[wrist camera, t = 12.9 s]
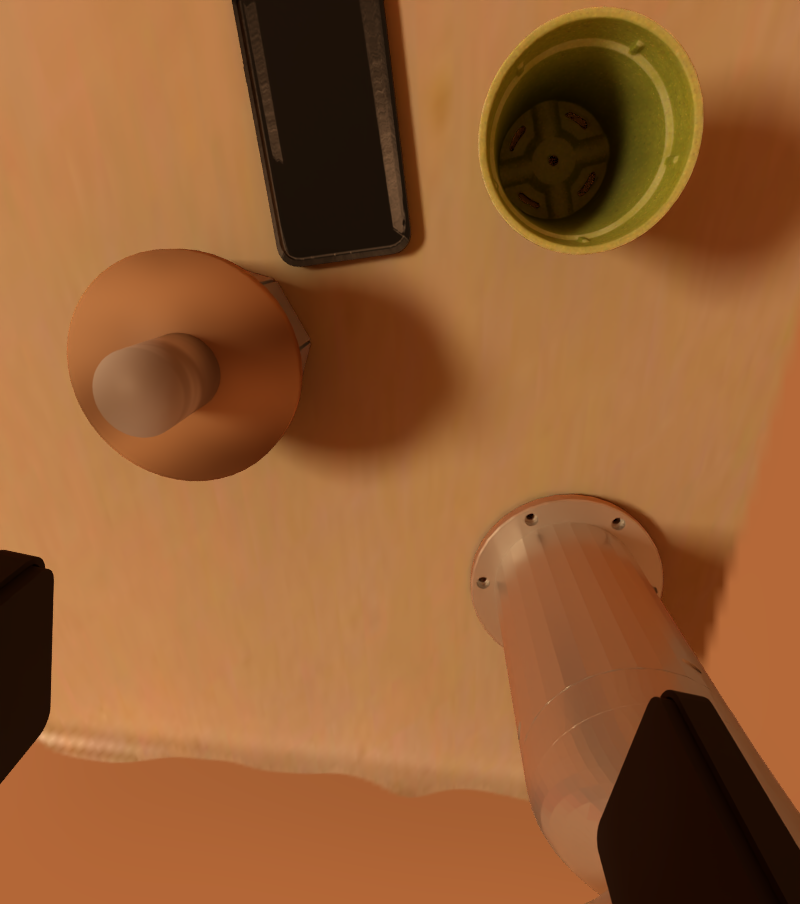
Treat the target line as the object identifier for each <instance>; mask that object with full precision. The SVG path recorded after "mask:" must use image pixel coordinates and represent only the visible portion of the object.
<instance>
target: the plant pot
mask: <svg viewBox="0 0 800 904" xmlns="http://www.w3.org/2000/svg"><path fill="white" fill-rule="evenodd" d="M569 112H572V113H575V114H576V115H578V116H580V117H582V118H583V119H584V120H585V121H586V124H587V127H586V129H583V128H582V127H581V126H580V125H579V124H578V123H577V122H575V121H574V120H572V119H570V118H568V117H566V114H567V113H569ZM703 121H704V117H703V96H702V92H701V87H700V83H699V80H698V76H697V73H696V71H695V68H694V66H693V64H692V62H691V60H690V58H689V56H688V54H687V53H686V52H685V50H684V49H683V47H682V46H681V44H680V43H679V42H678V40H677V39H676V38H675V37H674V36H673V35H672V34H671V33H670V32H669V31H667V30H666V29H665V28H663V27H662V26H661V25H660V24H658V23H657V22H655V21H653V20H652V19H650V18H649V17H647V16H644V15H642V14H640V13H637V12H634V11H631V10H627V9H622V8H615V7H591V8H584V9H580V10H575V11H572V12H569V13H566V14H563V15H561V16H558V17H556V18H554V19H552V20H550V21H548V22H546V23H544V24H543V25H541V26H540V27H538V28H537V29H535V30H534V31H533V32H532V33H530V34H529V35H528V36H527V37H526V38H524V39H523V40H522V41H521V42H520V43H519V44H518V45H517V47H516V48H515V49H514V50H513V51H512V52H511V54H510V55H509V56H508V58H507V59H506V60H505V61H504V63H503V64H502V66H501V67H500V69H499V71H498V72H497V74H496V76H495V78H494V80H493V82H492V84H491V86H490V89H489V91H488V93H487V96H486V99H485V103H484V106H483V110H482V115H481V119H480V126H479V137H478V153H479V161H480V168H481V173H482V177H483V181H484V184H485V187H486V189H487V192H488V194H489V196H490V199H491V200H492V202H493V204H494V206H495V208H496V209H497V211H498V212H499V214H500V215H501V216H502V217H503V219H504V220H505V221H506V222H507V223H508V224H509V225H510V226H511V227H512V228H513V229H514V230H515V231H516V232H517V233H519V234H520V235H521V236H523V237H524V238H526V239H527V240H529V241H531V242H532V243H534V244H536V245H538V246H540V247H543V248H546V249H548V250H551V251H555V252H560V253H565V254H574V255H582V254H593V253H600V252H604V251H608V250H612V249H615V248H618V247H620V246H623V245H625V244H627V243H629V242H631V241H633V240H635V239H636V238H638V237H639V236H641V235H643V234H644V233H645V232H647V231H648V230H649V229H651V228H652V227H653V226H654V225H655V224H657V223H658V222H659V221H660V220H661V219H662V218H663V217H664V215H665V214H666V213H667V212H668V211H669V210H670V209H671V207H672V206H673V205H674V203H675V202H676V201H677V199H678V198H679V196H680V194H681V193H682V191H683V190H684V188H685V186H686V184H687V182H688V180H689V178H690V176H691V174H692V172H693V169H694V167H695V164H696V161H697V157H698V154H699V150H700V145H701V141H702V134H703ZM522 126H524V127H526V131H525V132H524V133H523V134H522V136H521V137H520V139H519V140H518V142H517V144H516V146H515V147H514V150H513V151H510V150H511V149H510V144H511V141H512V138H513V136H514V134H515V133H516V132H517V130H518V129H519V128H520V127H522ZM551 156H556V157H557V159H558V163H557V164H556V165H554V166H552V165H551V164H549V158H550V157H551ZM592 172H594V173H595V180H594V182H593V184H592V185H591V187H590V188H589V190H588V191H587V192H586V193H585V194H584V195H582V196H579V195H578V192H579V191H580V189H581V188H582V187H583V186H584V184H585V183H586V181H587V180H588V177H589V175H590V173H592ZM521 192H522V193H523V194H524V195H525V196H527V197H528V198H529V199H531V200H533V201H534V202H537V203H539V205H540V207H538V208H533V207H532V206H530V205H529V204H525V203H523V202H522V201H521V199H520V198H519V197H518V196H519V193H521Z"/></svg>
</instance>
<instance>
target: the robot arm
mask: <svg viewBox="0 0 800 904" xmlns="http://www.w3.org/2000/svg"><path fill="white" fill-rule="evenodd" d="M528 514H533V516H532V517H527V515H528ZM615 518H618V520H617V521H613V520H614V519H615ZM481 577H485V578H484V579H480V578H481ZM663 582H664V577H663V567H662V562H661V559H660V556H659V553H658V550H657V547H656V546H655V544H654V542H653V541H652V539H651V537H650V536H649V534H648V533H647V532H646V530H645V529H644V528H643V527H642V525H641V524H640V523H639V522H638V521H637V520H636V519H635V518H634V517H632V516H631V515H630V514H629V513H628V512H626V511H625V510H623V509H621V508H620V507H618V506H616V505H614V504H612V503H610V502H607V501H604V500H601V499H598V498H595V497H591V496H583V495H576V494H570V495H554V496H549V497H545V498H540V499H536V500H534V501H531V502H529V503H526V504H524V505H522V506H519V507H518V508H516V509H515V510H513V511H511V512H510V513H508V514H507V515H505V516H504V517H503V518H502V519H501V520H500V521H498V522H497V523H496V524H495V525H494V526H493V527H492V528H491V529H490V531H489V532H488V533H487V535H486V536H485V537H484V539H483V540H482V541H481V544H480V546H479V548H478V550H477V552H476V554H475V556H474V561H473V565H472V569H471V594H472V602H473V605H474V608H475V611H476V614H477V617H478V618H479V620H480V622H481V624H482V625H483V627H484V629H485V630H486V631H487V633H488V634H489V635H490V636H491V637H492V638H493V639H494V640H495V642H497V643H498V644H499V645H501V646H502V647H503V648H504V653H505V659H506V666H507V672H508V678H509V684H510V690H511V696H512V702H513V708H514V714H515V720H516V726H517V733H518V739H519V745H520V751H521V757H522V763H523V769H524V775H525V781H526V787H527V792H528V796H529V800H530V803H531V807H532V810H533V813H534V815H535V818H536V820H537V823H538V825H539V827H540V829H541V831H542V832H543V834H544V836H545V838H546V839H547V840H548V842H549V844H550V845H551V847H552V848H553V849H554V851H555V852H556V854H557V855H558V856H559V857H560V858H561V859H562V861H563V862H564V863H565V864H566V865H567V866H568V867H569V868H570V869H571V870H572V871H573V872H574V873H575V874H576V875H577V876H578V877H579V878H580V879H581V880H583V881H584V882H585V883H586V884H587V885H589V886H590V887H591V888H592V889H593V890H594V891H596V892H597V893H598V894H599V895H600V896H599V897H597V898H596V899H595V900H592V901H590V902H588V903H586V904H800V813H799V812H798V810H797V809H796V808H795V806H794V805H793V803H792V802H791V800H790V799H789V798H788V796H787V795H786V793H785V792H784V790H783V789H782V787H781V786H780V784H779V783H778V781H777V780H776V778H775V777H774V776H773V774H772V773H771V771H770V770H769V768H768V767H767V765H766V764H765V762H764V761H763V760H762V758H761V757H760V755H759V754H758V752H757V751H756V749H755V748H754V746H753V744H752V743H751V741H750V740H749V738H748V737H747V735H746V734H745V732H744V731H743V729H742V727H741V726H740V724H739V723H738V721H737V719H736V718H735V716H734V715H733V713H732V712H731V710H730V709H729V708H728V706H727V705H726V703H725V702H724V700H723V698H722V697H721V695H720V694H719V692H718V690H717V689H716V687H715V686H714V684H713V682H712V681H711V679H710V678H709V676H708V674H707V673H706V671H705V670H704V668H703V666H702V665H701V663H700V662H699V660H698V659H697V657H696V655H695V654H694V652H693V651H692V649H691V647H690V646H689V644H688V643H687V641H686V639H685V638H684V636H683V635H682V633H681V631H680V630H679V628H678V627H677V625H676V624H675V622H674V620H673V619H672V617H671V616H670V614H669V612H668V611H667V609H666V608H665V606H664V604H663V603H662V601H661V600H660V599H661V596H662V590H663ZM53 590H54V577H53V573H52V571H51V570H49V569H45V564H44V562H43V560H42V559H41V558H39V557H36V556H31V555H26V554H21V553H17V552H12V551H7V550H0V784H1V782H2V781H3V780H4V779H5V777H6V776H7V775H8V774H9V772H10V771H11V770H12V769H13V768H14V766H15V765H16V764H17V763H18V761H19V760H20V759H21V758H22V757H23V755H24V754H25V752H27V750H28V749H29V748H30V746H31V745H32V744H33V743H34V742H35V741H36V739H37V738H38V737H39V735H40V734H41V733H42V731H43V729H44V727H45V725H46V723H47V720H48V717H49V714H50V703H51V665H52V627H53Z"/></svg>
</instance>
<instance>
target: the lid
mask: <svg viewBox="0 0 800 904" xmlns="http://www.w3.org/2000/svg"><path fill="white" fill-rule="evenodd" d="M67 360H68V369H69V374H70V379H71V383H72V386H73V389H74V392H75V395H76V398H77V400H78V402H79V404H80V406H81V408H82V411H83V412H84V414H85V415H86V417H87V419H88V420H89V422H90V424H91V425H92V426H93V427H94V429H95V430H96V431H97V432H98V434H99V435H100V436H101V437H102V438H103V439H104V440H105V441H106V442H107V443H108V444H109V445H110V446H111V447H112V448H113V449H114V450H115V451H117V452H118V453H119V454H120V455H122V456H123V457H124V458H126V459H128V460H129V461H131V462H132V463H134V464H135V465H137V466H139V467H141V468H143V469H145V470H147V471H150V472H152V473H155V474H158V475H161V476H164V477H168V478H173V479H177V480H186V481H207V480H214V479H220V478H224V477H227V476H231V475H234V474H236V473H238V472H241V471H243V470H245V469H247V468H248V467H250V466H252V465H253V464H255V463H256V462H258V461H259V460H260V459H261V458H263V457H264V456H265V455H266V454H267V453H268V452H269V451H270V450H271V449H272V448H273V447H274V446H275V444H276V443H277V442H278V441H279V440H280V438H281V437H282V436H283V434H284V433H285V431H286V430H287V428H288V427H289V425H290V423H291V421H292V419H293V417H294V415H295V412H296V409H297V406H298V403H299V400H300V394H301V389H302V373H303V371H302V360H301V354H300V349H299V344H298V341H297V338H296V335H295V332H294V329H293V327H292V325H291V323H290V321H289V319H288V317H287V315H286V313H285V312H284V310H283V309H282V307H281V306H280V304H279V302H278V301H277V300H276V298H275V297H274V296H273V295H272V294H271V293H270V291H269V290H268V289H267V288H266V287H265V286H264V285H263V284H262V283H261V282H260V281H258V280H257V279H256V278H255V277H254V276H253V275H251V274H250V273H248V272H247V271H246V270H244V269H243V268H241V267H239V266H238V265H236V264H234V263H232V262H230V261H228V260H226V259H224V258H221V257H218V256H216V255H213V254H210V253H205V252H201V251H197V250H188V249H159V250H151V251H146V252H141V253H138V254H135V255H132V256H129V257H126V258H124V259H122V260H120V261H118V262H117V263H115V264H113V265H111V266H110V267H109V268H107V269H106V270H105V271H103V272H102V273H101V274H100V275H99V276H98V277H97V278H96V279H95V280H94V281H93V282H92V283H91V284H90V285H89V287H88V288H87V289H86V291H85V292H84V294H83V295H82V297H81V299H80V301H79V302H78V304H77V306H76V308H75V311H74V314H73V317H72V320H71V323H70V328H69V333H68V341H67Z"/></svg>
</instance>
